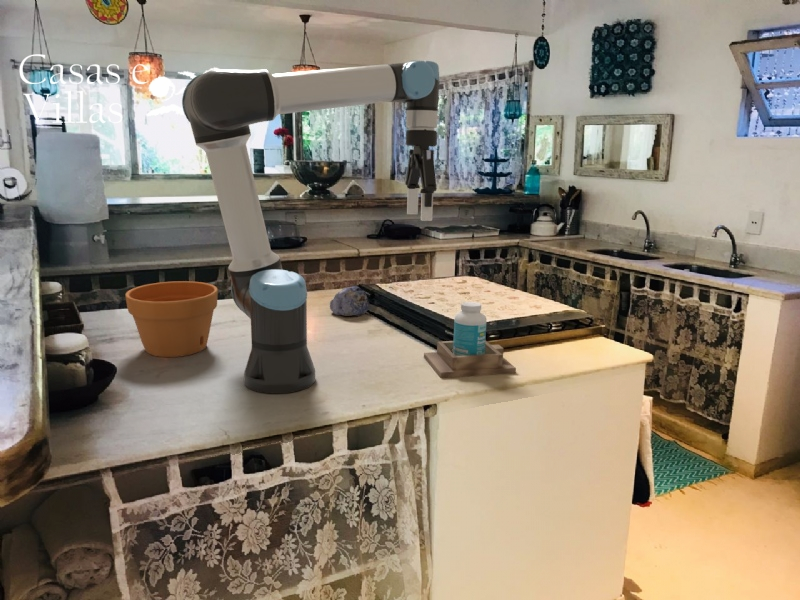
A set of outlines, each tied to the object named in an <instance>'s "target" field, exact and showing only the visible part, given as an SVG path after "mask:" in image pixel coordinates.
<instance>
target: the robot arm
mask: <svg viewBox="0 0 800 600" xmlns="http://www.w3.org/2000/svg"><path fill="white" fill-rule="evenodd" d="M439 87H440V67H439V64H438V63H437V62H435V61H430V60H410V61H408V62H398V63H388V64H387V63H386V64H384V63H383V64H376V65H375V64H374V65H364V66H363V65H362V66H351V67H341V68H328V69H327V68H326V69H318V70H306V71H305V70H304V71H293V72H283V73H270V71H269V70H267V69H265V68H264V69H228V68H227V69H225V68H223V69H222V68H217V69H212V70H209V71H206V72H204V73H200V74H198V75H196V76H195V77H193V78H192V79H191V80H190V81H189V82H188V83H187V85H185V89H184V90H183V94H182V98H181V99H182V100H181V104H182V105H181V106H182V110H183V114H184V116H185V117H186V120H187V121H188V122H189V124H190V127H191V131H192V134H193V138H194V142H195V145H196V146H197V147H199V148H200V149H201V150H203V151H204V152H205V155H206V158H207V164H208V167H209V171H210V175H211V179H212V182H213V187H214V190H215V193H216V197H217V201H218V206H219V210H220V213H221V218H222V221H223V225H224V228H225V232H226V237H227V240H228V244H229V248H230V251H231V256H232V260H231V262H230V264H229V265H228V267H227V269H228V272H229V275H230V276H229V277H230V281H231V285H230V290H231V297H232V300H233V302H234V303H235V306H236V307H237V308H238V309H239V310H240V311H241V312H242V313H243V314H244V315H246V316H247V317H248V318H249V319H250V333H251V336H250V337H251V349H250V352H249V355H248V359H247V361H246V366H245V369H244V373H243V374H244V376H243V377H244V378H243V380H244V386H246V387H247V388H248V389H250V390H251V391H255V392H258V393H264V394H288V393H295V392H299V391H302V390H305V389H307V388H310V387H311V386H312V385H314V383H315V382H316V368H315V366H314V363H313V360H312V357H311V354H310V351H309V348H308V337H307V336H308V330H307V329H308V328H307V326H308V323H307V313H308V310H307V304H308V303H307V302H308V301H307V298H308V290H307V286H306V285H307V283H306V280H305V279H304V277H303V276H302V275H301V274H299V273H297V272H294V271H289V270H287V269H286V270H285V269H283V266H282V260H281V257H280V255H278V253H275V252H274V251H273V250H272V249H271V243H270V240H269V236H268V232H267V229H266V223H265V219H264V216H263V210H262V207H261V203H260V198H259V193H258V189H257V186H256V182H255V176H254V173H253V170H252V169H253V168H252V164H251V159H250V155H249V151H248V147H247V142H248V140H249V139H250V137H251V135H252V133H251V129H250V125H254V124H257V123H264V122H271V121H272V122H273V121H274V120H275V119H276V118H277V116H278V115H284V114H285V115H286V114H293V113H301V112H309V111H310V112H311V111H320V110H321V111H322V110H327V109H328V110H329V109H336V108H345V107H346V108H347V107H352V106H361V105H370V104H371V105H372V104H378V103H403V104H406V115H405V116H406V117H405V118H406V121H405V122H406V123H405V127H406V128H408V129H407V130H406V132H405V145H406V146H407V147H408V146H411V147H413V148H412V149H411V148H410V149H409V151H408V152H409V153H408V155H409V156H408V162H407V163H408V164H407V171H406V177H405V183H404V185H406V187H407V199H406V200H407V203H406V215H418V214H419V193H420V194H421V197H420V202H421V203H420V221H422V222H428V221H429V222H431V221H433V214H434V213H433V209H434V208H433V206H434V193H435V192H436V191H437V189H438V187H437V180H436V169H435V159H434V158H435V157H434V156H435V155H434V154H435V152H434V149H433V150H430V147H436V146H437V145H438V132H437V130H435V129H437V128H438V120H440V118H441V117H440V115H439V114H438V113H439V111H438V109H439V92H440V91H439V90H440V88H439ZM419 181H421V185H420V183H419ZM420 186H421V187H422V188H421V187H420ZM419 189H420V191H419Z"/></svg>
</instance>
